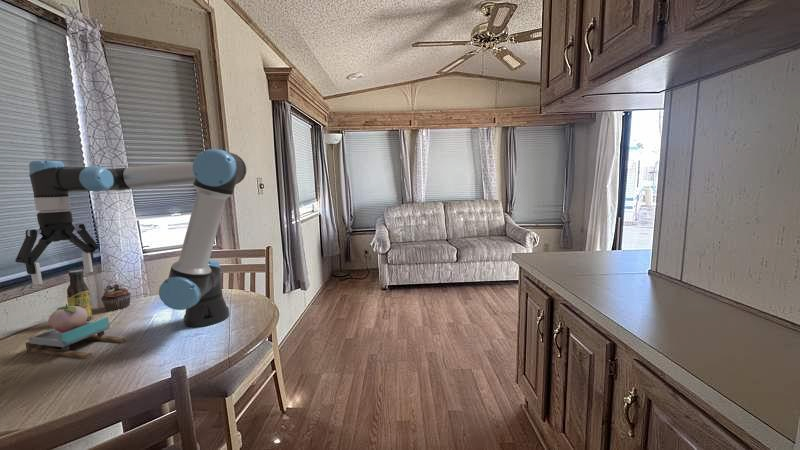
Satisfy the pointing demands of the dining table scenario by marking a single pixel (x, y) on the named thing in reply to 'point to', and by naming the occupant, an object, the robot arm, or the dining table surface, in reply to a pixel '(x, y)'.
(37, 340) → the shallow teal tray
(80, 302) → the sauce bottle
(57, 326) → the decorative fruit
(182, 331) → the dining table surface
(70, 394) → the dining table surface
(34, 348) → the rails
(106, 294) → the cupcake
